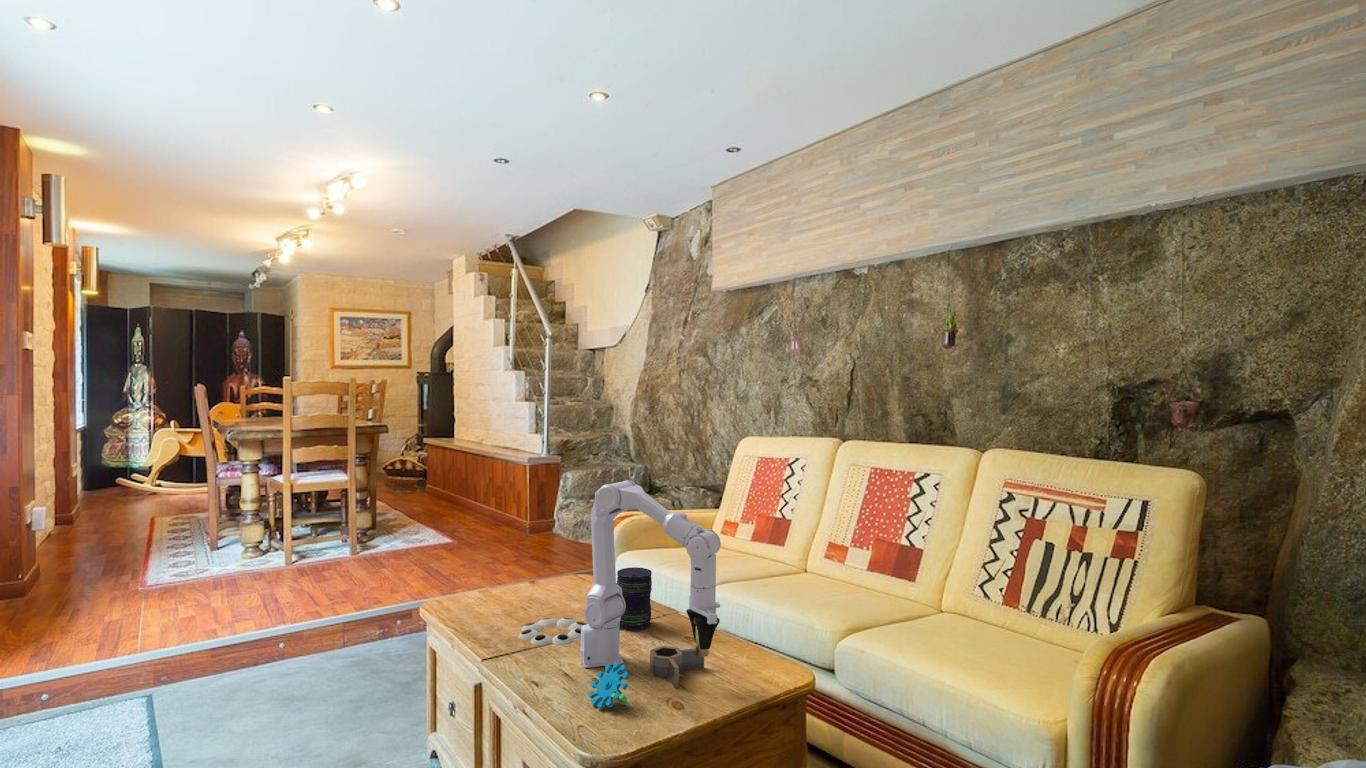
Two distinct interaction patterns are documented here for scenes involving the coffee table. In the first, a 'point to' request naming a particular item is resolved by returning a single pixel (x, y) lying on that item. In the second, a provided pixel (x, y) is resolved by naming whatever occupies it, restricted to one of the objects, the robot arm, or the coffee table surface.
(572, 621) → the ring
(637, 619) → the storage jar
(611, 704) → the gear
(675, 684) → the hinge
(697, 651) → the hinge pin
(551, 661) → the coffee table surface
